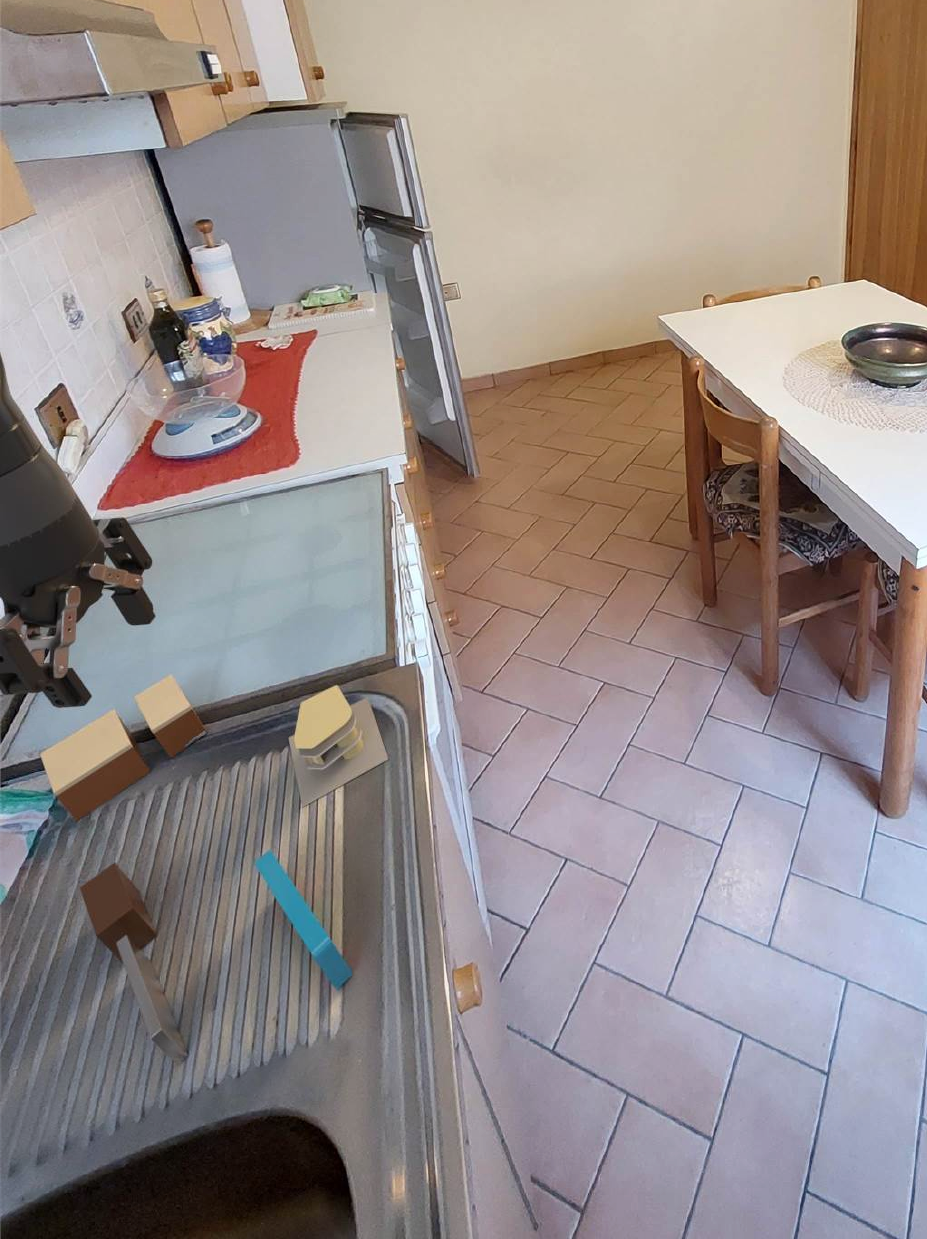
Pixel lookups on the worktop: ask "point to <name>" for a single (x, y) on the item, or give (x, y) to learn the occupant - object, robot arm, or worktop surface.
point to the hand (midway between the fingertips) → (112, 660)
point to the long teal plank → (303, 920)
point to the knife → (132, 951)
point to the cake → (94, 764)
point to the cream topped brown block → (169, 715)
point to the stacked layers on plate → (333, 743)
